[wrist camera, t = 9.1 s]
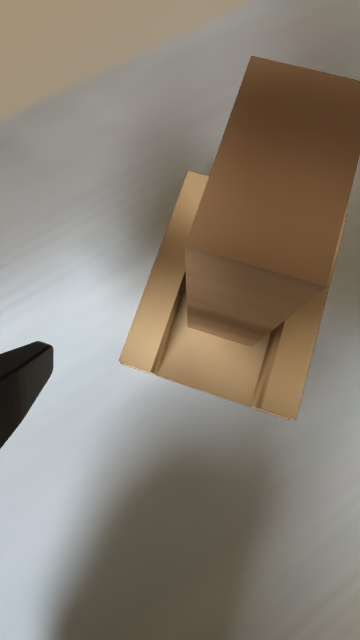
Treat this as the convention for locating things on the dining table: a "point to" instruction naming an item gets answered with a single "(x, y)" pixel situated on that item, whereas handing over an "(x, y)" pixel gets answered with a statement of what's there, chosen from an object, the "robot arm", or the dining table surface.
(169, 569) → the dining table surface
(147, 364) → the oak base
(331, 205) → the brown cardboard box
